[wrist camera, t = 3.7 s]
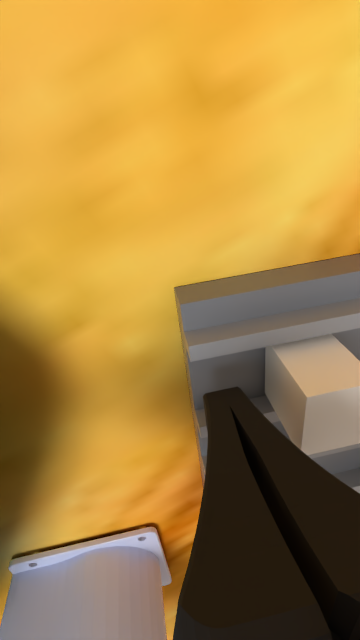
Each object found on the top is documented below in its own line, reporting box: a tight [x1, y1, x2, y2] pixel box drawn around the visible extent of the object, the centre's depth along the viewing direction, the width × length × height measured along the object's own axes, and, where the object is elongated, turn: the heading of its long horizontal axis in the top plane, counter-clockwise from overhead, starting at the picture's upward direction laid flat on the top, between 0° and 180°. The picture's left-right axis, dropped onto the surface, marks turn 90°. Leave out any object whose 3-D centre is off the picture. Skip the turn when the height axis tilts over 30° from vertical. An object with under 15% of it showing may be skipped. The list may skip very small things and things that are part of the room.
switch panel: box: [174, 254, 360, 493], centre depth 16 cm, size 14×15×2 cm
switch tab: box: [265, 334, 360, 455], centre depth 13 cm, size 2×3×3 cm
